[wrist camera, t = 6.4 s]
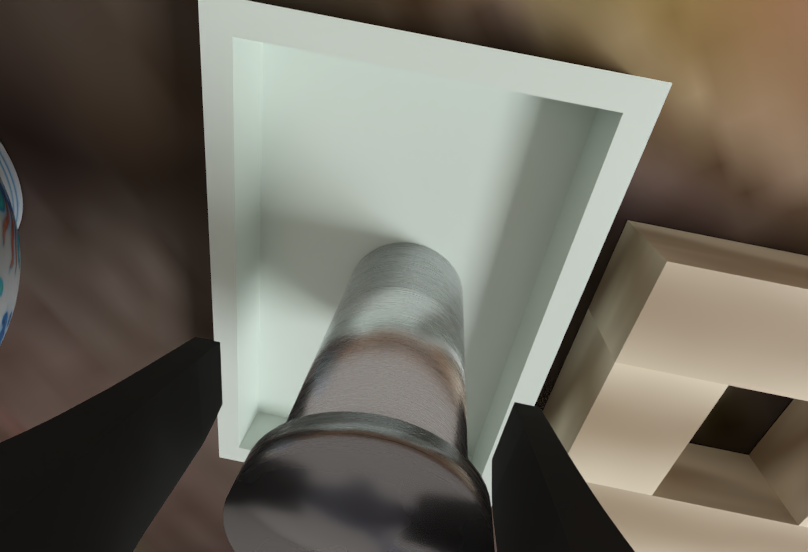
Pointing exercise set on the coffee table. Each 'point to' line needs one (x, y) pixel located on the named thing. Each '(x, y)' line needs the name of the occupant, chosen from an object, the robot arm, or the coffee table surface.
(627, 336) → the pin block
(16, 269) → the chinaware
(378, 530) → the metal pin
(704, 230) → the coffee table surface
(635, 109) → the tray
